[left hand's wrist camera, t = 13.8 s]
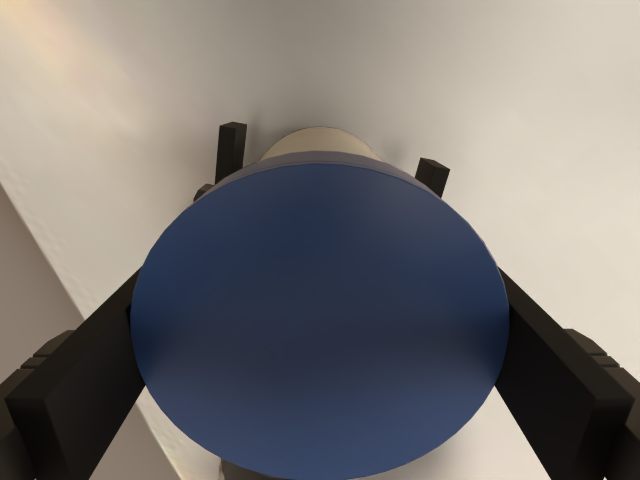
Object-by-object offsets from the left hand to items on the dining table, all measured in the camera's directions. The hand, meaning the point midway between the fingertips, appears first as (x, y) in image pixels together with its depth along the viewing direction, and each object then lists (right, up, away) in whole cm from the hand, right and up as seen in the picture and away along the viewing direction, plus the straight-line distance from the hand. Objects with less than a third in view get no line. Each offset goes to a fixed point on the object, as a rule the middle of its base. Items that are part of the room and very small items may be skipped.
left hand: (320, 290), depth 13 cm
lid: (0, -1, -3) cm, 3 cm away
